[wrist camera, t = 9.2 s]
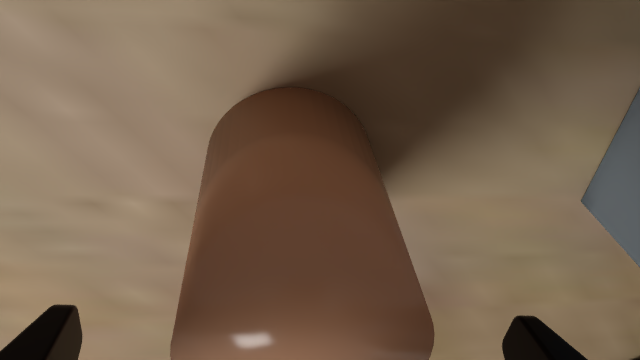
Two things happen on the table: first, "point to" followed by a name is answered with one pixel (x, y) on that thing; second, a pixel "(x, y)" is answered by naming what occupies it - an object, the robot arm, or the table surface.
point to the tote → (620, 185)
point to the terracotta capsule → (297, 243)
